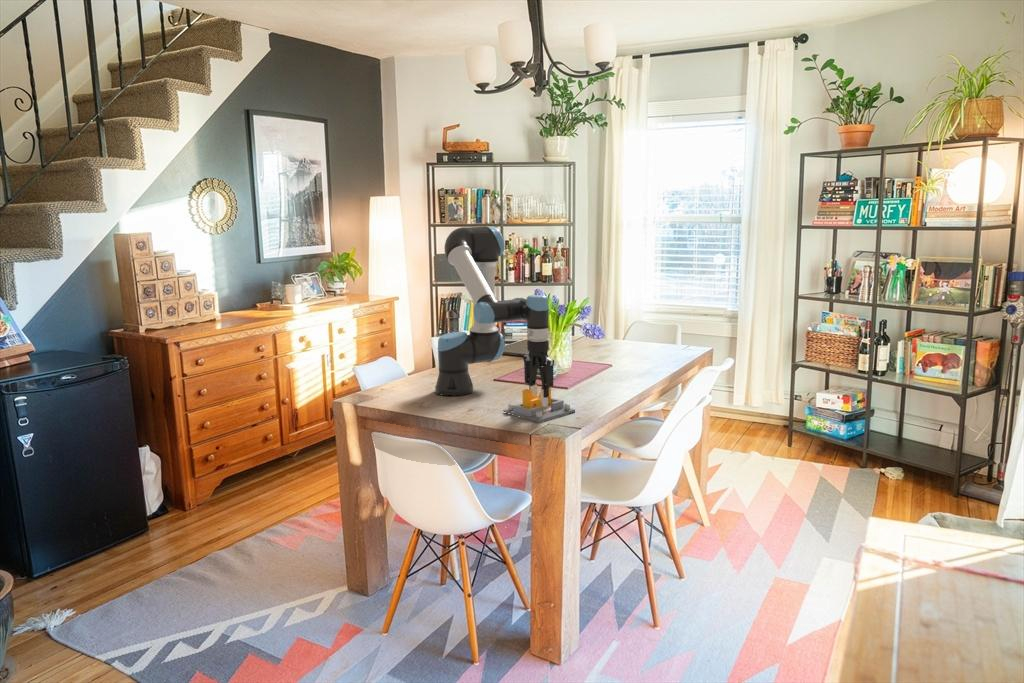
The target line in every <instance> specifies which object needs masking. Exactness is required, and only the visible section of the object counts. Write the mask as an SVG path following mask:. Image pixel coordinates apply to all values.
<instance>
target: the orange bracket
mask: <svg viewBox="0 0 1024 683" xmlns="http://www.w3.org/2000/svg"><path fill="white" fill-rule="evenodd" d="M545 385H546V384H545ZM521 396H522V403H523V407H527V408H535V407H538V406H540V407H541V391H540V392H539V393H538V394H537V397H536V398H534V397H533V395H532V390H529V389H527V388H526V389H522V395H521ZM551 398H552V387H550V388H549V397H548V403H551Z"/></svg>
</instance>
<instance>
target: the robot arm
mask: <svg viewBox="0 0 1024 683" xmlns="http://www.w3.org/2000/svg"><path fill="white" fill-rule="evenodd" d="M504 252H505V240H504V237H503V234H502V233H501V231H500V230H499V229H498V227H495V226H469V227H468V226H467V227H464V226H462V227H458V228H455V229H454V230H453V231H451V232H450V233H449V234H448V236H447V237H446V239H445V244H444V254H445V257H446V259H447V262H448V263H449V264H450V265H451V266H453V267H454V268H455V270H456V272H457V274H458V276H459V277H460V279H461V281H462V284H463V285H464V286H465V288H466V290H467V292H468V294H469V295H470V297H471V299H472V303H473V304H472V306H473V307H472V309H473V312H472V314H473V315H472V316H473V317H472V318H473V319H472V320H473V325H472V326H471V327H470V328H469V334H468V332H465V331H454V332H448V333H445V334H442V335H441V336H440V337H438V340H437V354H438V355H437V357H438V376H437V379H436V384H435V387H434V388H435V389H434V391H435V392H436V393H438V394H442V395H452V396H451V397H457V396H456V395H461V396H466V395H465V394H467V395H469V393H470V394H472V393H473V392H474V385H473V384H474V383H473V382H472V378H471V376H470V372H469V365H472V364H480V363H481V364H482V363H486V362H487V363H491V362H494V361H498V360H499V359H500V358H502V356H503V354H504V350H505V339H504V335H503V334H502V333H501V332H500V331H499V327H497V326H496V323H503V322H504V323H506V322H514V321H526V334H527V336H526V338H527V341H526V342H527V346H526V347H527V351H528V354H525V355H523V356H522V360H523V368H524V369H523V370H524V371H523V372H524V383H525V384H528V386H529V387H528V388H529V389H528V390H532V395H533V397H534V398H536V397H537V396H538V385H537V384H538V383H537V375H538V371H539V374H540V375H539V377H540V382H541V387H540V392H541V407H544V406H548V397H549V388H550V387H551V388H552V387H554V365H555V359H551V358H550V357H549V354H548V352H549V350H550V343H549V342H550V341H549V337H550V336H549V335H550V332H549V330H550V329H549V301H548V300H549V298H548V296H546V295H543V294H532V295H527V297H526V298H523V297H514V298H512V299H506V300H497V298H496V296H495V294H496V291H495V289H496V287H495V286H496V284H495V281H496V279H495V278H496V277H495V276H496V275H495V273H496V272H495V269H496V268H495V267H496V264H498V262H499V257H500V256H502V255H504ZM545 384H546V385H545ZM435 392H434V393H435ZM471 392H472V393H471ZM436 393H435V394H436ZM438 394H437V395H438ZM442 395H441V396H442Z"/></svg>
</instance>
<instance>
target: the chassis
mask: <svg viewBox="0 0 1024 683" xmlns="http://www.w3.org/2000/svg"><path fill="white" fill-rule="evenodd" d="M507 407H508V408H507V409H504V410H503V411H502V412H506V413H510V414H513V415H516V416H520V417H523V418H525V419H524V420H526V419H529V420H528V421H530V420H532V421H531V422H534V421H535V422H534V423H537V422H538V424H540V422H541V423H543V421H544V422H547V420H548V421H550V419H551V420H554V419H557V418H556V417H558V418H560V416H561V417H564V416H567V415H566V414H568V415H570V414H569V413H571V414H573V413H572V412H574V413H576V409H574V408H571V404H570V403H569V402H568V403H565V402H564V400H563V399H559V398H554V397H551V403H548V406H544V407H540V406H538V407H535V408H527V407H523V402H522V403H518V404H514V403H510V404H509V403H508V405H507ZM563 415H564V416H563ZM516 416H515V417H516ZM523 418H522V419H523ZM553 418H554V419H553Z"/></svg>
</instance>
